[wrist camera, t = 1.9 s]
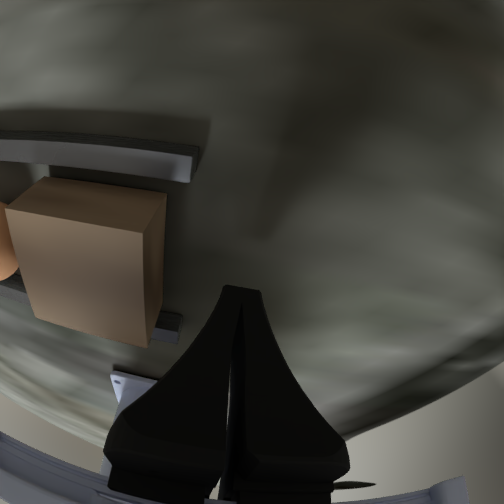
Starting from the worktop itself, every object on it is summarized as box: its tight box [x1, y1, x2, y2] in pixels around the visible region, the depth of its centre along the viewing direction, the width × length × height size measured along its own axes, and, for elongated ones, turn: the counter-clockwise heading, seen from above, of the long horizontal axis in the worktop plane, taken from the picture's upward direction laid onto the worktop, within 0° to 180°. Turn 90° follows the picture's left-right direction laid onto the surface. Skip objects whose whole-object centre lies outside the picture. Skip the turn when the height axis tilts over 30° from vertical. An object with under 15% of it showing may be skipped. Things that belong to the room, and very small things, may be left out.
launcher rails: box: [0, 131, 199, 344], centre depth 13 cm, size 10×13×1 cm
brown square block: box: [5, 176, 167, 348], centre depth 13 cm, size 6×6×3 cm
